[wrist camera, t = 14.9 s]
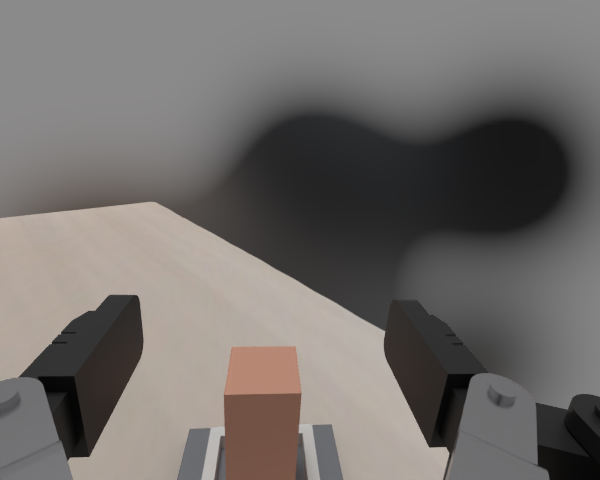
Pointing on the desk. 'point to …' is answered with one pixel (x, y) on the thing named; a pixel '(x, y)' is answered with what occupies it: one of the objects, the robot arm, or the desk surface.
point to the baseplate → (310, 454)
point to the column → (262, 413)
